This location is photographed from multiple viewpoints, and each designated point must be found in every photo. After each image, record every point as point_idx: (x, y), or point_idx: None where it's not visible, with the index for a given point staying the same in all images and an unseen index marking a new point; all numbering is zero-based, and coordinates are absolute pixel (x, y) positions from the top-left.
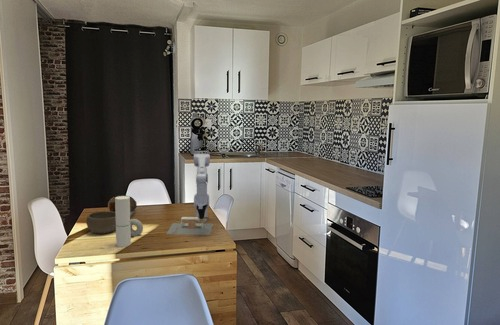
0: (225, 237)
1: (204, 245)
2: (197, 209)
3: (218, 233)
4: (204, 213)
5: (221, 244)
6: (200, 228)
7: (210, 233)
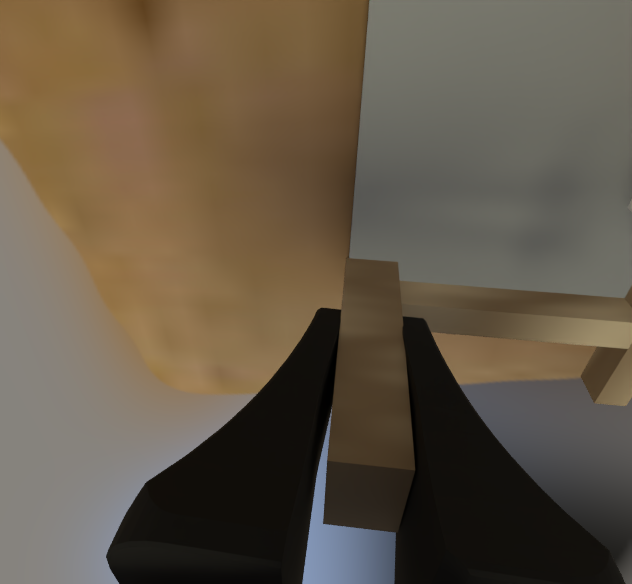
0: None
1: (77, 224)
2: (168, 473)
3: None
4: None
5: (143, 345)
6: (624, 179)
7: None
